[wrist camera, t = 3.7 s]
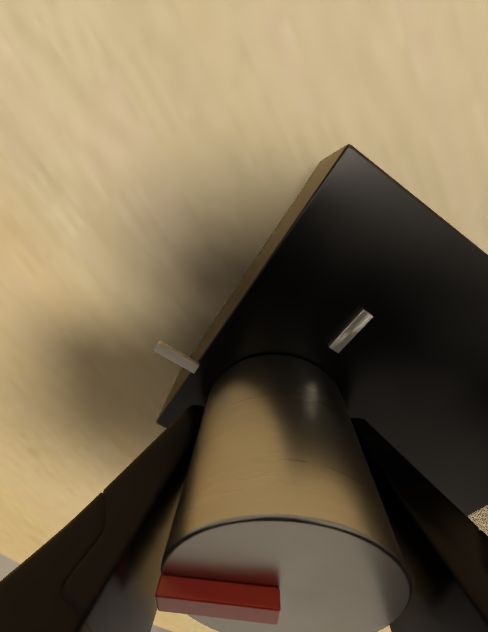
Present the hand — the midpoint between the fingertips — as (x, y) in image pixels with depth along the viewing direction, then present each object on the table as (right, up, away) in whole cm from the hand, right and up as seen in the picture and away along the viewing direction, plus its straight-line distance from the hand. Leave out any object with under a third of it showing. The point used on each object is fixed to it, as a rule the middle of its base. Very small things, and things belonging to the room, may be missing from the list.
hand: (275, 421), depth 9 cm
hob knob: (0, 0, 0) cm, 0 cm away
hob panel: (+4, +1, +3) cm, 5 cm away
